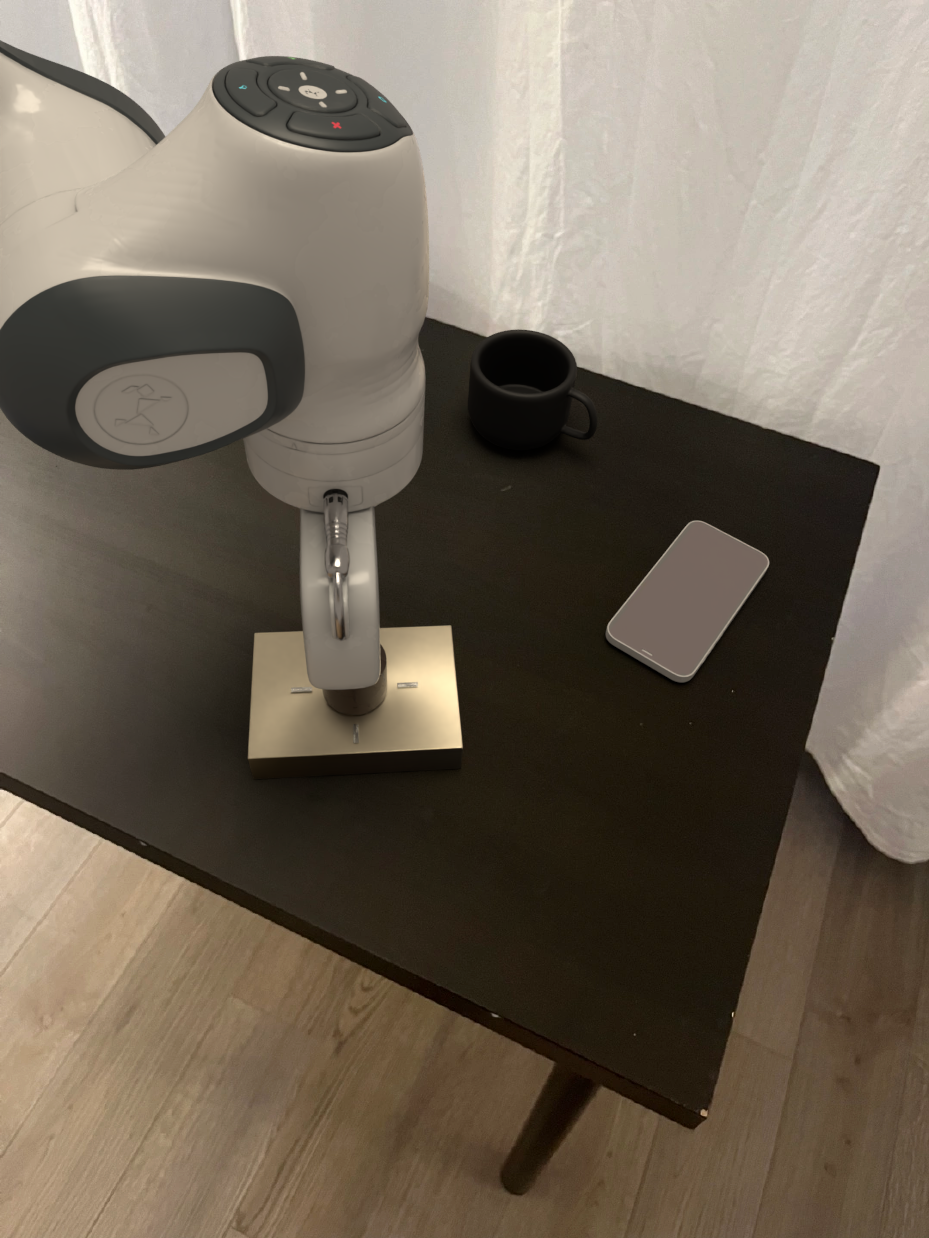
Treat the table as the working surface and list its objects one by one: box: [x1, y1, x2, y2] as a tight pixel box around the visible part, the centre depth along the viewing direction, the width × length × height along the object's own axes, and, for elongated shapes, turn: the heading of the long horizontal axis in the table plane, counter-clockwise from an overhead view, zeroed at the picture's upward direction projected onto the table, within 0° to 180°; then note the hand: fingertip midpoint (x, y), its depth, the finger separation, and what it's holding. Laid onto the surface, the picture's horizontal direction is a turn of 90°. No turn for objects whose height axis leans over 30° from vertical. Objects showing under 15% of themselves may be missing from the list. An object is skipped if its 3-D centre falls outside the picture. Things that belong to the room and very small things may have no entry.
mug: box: [467, 329, 598, 451], centre depth 83 cm, size 12×9×7 cm
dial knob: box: [322, 644, 387, 715], centre depth 64 cm, size 4×4×4 cm
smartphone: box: [605, 520, 770, 683], centre depth 75 cm, size 7×1×15 cm
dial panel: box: [247, 624, 464, 780], centre depth 66 cm, size 14×10×3 cm
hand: (344, 594), depth 58 cm, fingers open, 8 cm apart
